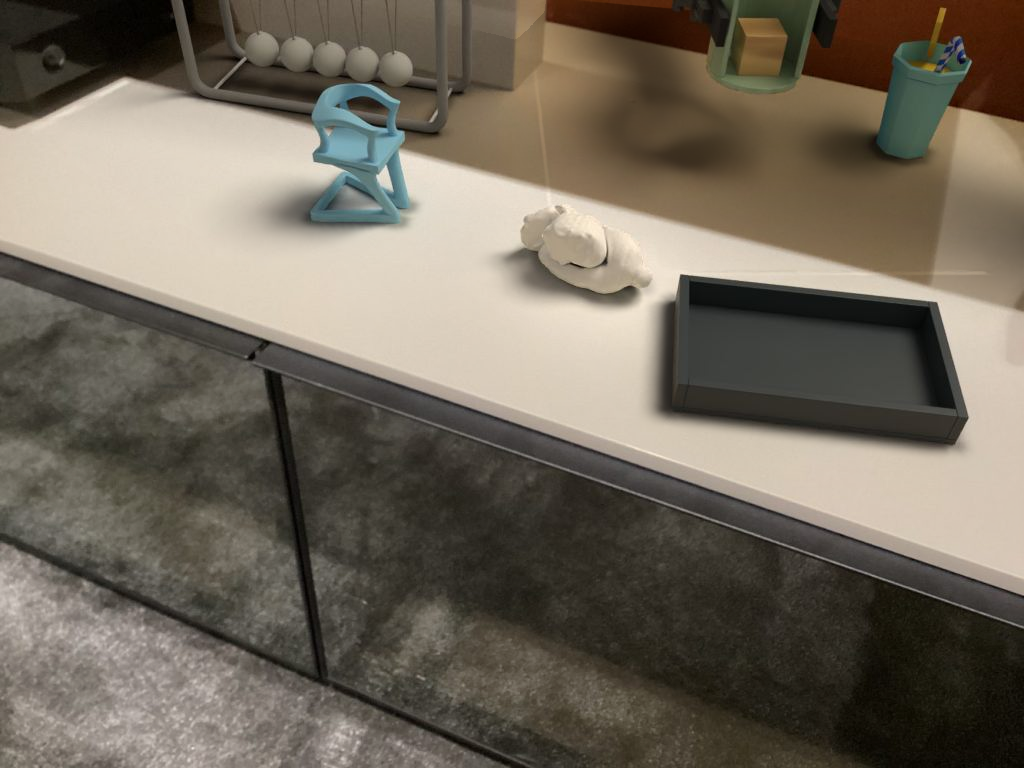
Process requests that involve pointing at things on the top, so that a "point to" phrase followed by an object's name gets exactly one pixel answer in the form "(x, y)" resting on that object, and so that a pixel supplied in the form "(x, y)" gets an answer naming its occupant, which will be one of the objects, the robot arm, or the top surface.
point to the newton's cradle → (336, 63)
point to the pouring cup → (797, 14)
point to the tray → (815, 359)
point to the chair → (359, 155)
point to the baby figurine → (585, 250)
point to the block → (758, 46)
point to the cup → (920, 92)
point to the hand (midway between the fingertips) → (776, 33)
